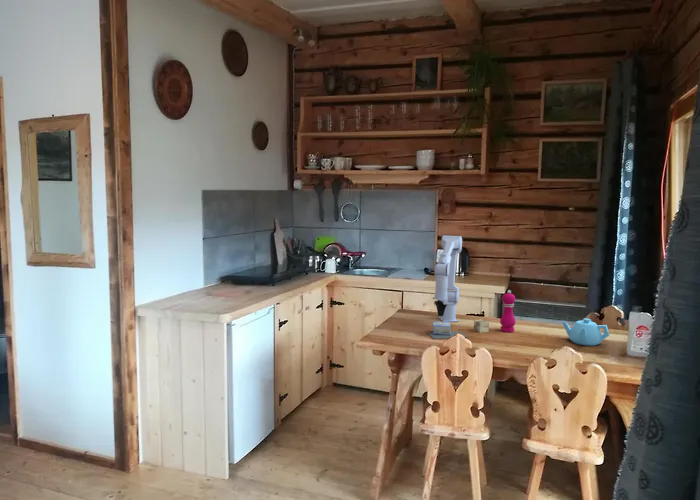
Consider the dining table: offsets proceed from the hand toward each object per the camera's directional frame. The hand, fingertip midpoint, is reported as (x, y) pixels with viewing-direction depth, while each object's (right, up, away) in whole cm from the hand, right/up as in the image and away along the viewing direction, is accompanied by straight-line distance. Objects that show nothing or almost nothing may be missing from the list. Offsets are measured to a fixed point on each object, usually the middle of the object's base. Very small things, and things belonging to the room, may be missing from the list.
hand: (440, 315), depth 266 cm
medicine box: (0, -5, -2) cm, 5 cm away
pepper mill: (+32, -7, 0) cm, 33 cm away
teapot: (+62, -10, -18) cm, 66 cm away
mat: (+1, -8, -10) cm, 13 cm away
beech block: (+19, -7, -1) cm, 21 cm away
